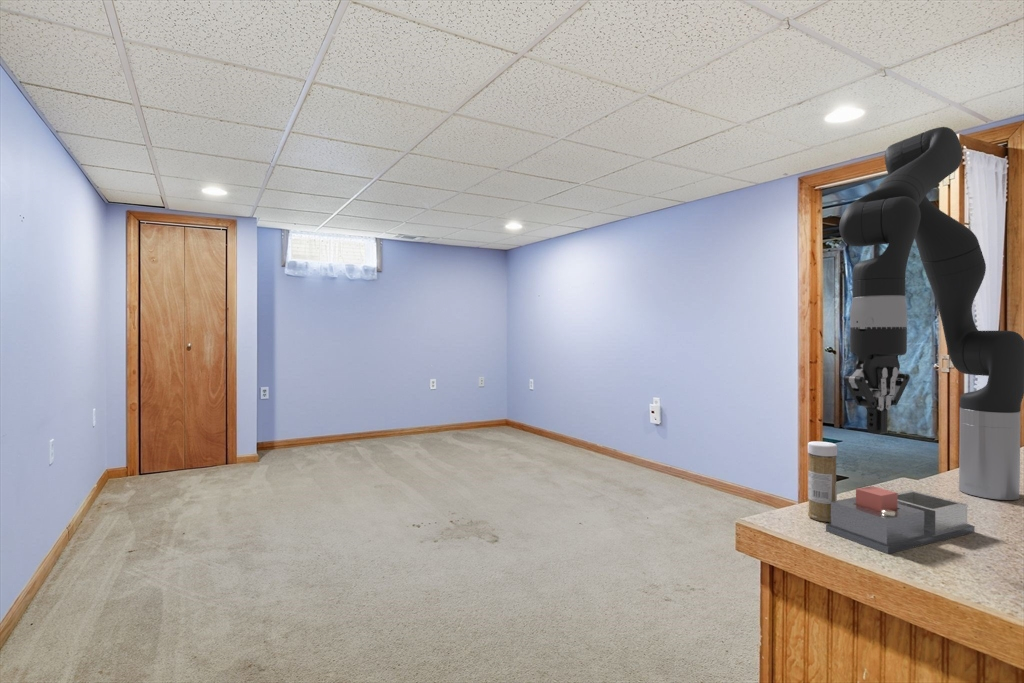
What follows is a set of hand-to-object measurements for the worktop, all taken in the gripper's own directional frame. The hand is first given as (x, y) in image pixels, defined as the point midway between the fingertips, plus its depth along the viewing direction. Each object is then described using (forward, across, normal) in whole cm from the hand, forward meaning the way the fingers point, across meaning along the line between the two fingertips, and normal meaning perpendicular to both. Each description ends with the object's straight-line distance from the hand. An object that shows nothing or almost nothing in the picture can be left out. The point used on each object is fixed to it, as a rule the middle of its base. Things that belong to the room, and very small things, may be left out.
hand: (876, 432), depth 86 cm
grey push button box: (+17, -6, 0) cm, 18 cm away
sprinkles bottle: (+17, 0, -10) cm, 20 cm away
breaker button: (+14, 0, 0) cm, 14 cm away
